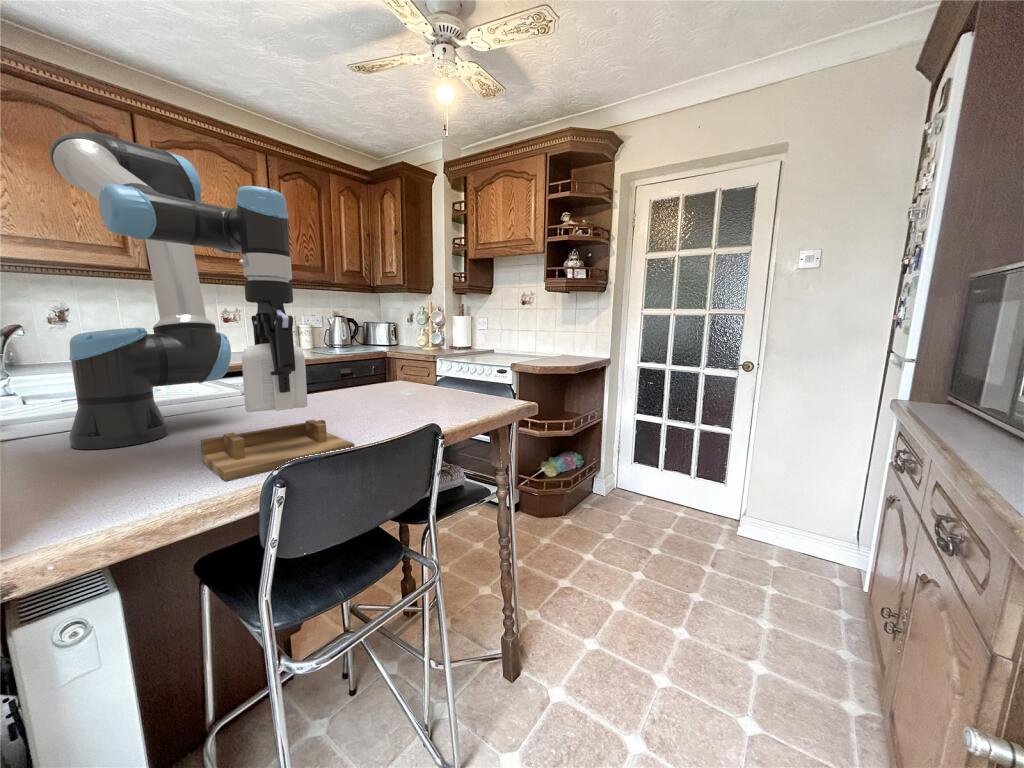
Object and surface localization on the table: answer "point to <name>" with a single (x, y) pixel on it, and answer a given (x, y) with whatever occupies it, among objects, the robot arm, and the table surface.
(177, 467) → the table surface
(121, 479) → the table surface
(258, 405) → the photo printer
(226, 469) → the ledge shelf
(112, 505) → the table surface
